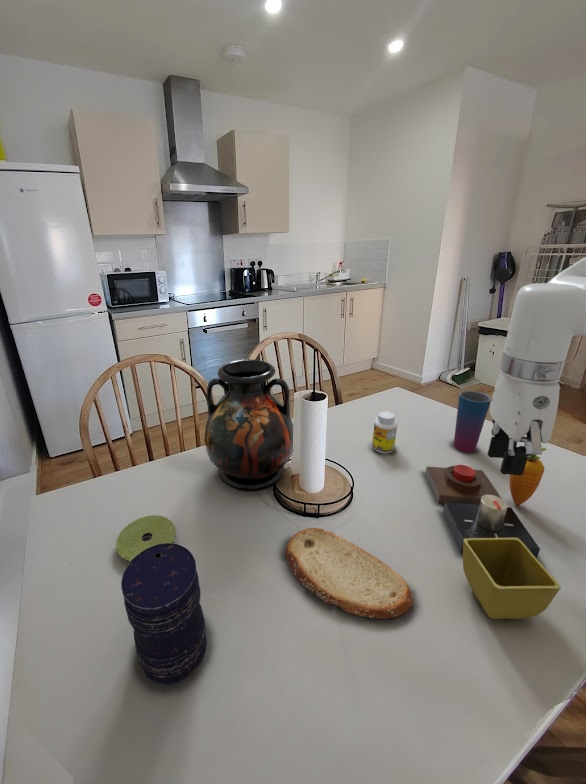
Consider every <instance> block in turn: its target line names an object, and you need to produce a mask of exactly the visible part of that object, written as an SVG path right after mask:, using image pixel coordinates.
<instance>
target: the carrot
mask: <svg viewBox="0 0 586 784" xmlns="http://www.w3.org/2000/svg"><path fill="white" fill-rule="evenodd" d="M544 451H547V448H546V447H542V452H544ZM537 455H538V454H533V455H531V457H528V458H527V462H526V465H525V469H524V472H523V474H522V475H509V490H510V496H511V498H512V502H513V504H514V505H515V506H521V505H522V504H525V502H527V501H528V500H529V499H530V498H532V496H533V495H534V493H535V492H536V490H537V489H538V487H539V485H540V483H541V480H542V478H543V475H544V473H545V466H544V464H543V462H542V460H540V459H541V456H537Z"/></svg>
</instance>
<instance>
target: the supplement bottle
mask: <svg viewBox="0 0 586 784" xmlns="http://www.w3.org/2000/svg"><path fill="white" fill-rule="evenodd" d="M395 418H396V415H395V414H394V413H392V412H390V411H380V412H379V413H378V415H377V417H376V418H375V420H374V423H373V434H372V445H371V446H372V449H373V450H374V451H376V452H378V453H381V454H389V453H392V452H393V451H395V446H396V445H395V444H396V439H397V431H398V430H397V429H398V423H397V421H396V420H395Z"/></svg>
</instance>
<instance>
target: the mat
mask: <svg viewBox="0 0 586 784" xmlns="http://www.w3.org/2000/svg"><path fill="white" fill-rule="evenodd" d="M176 534H177V533H176V526H175V524H174V522H173V521H172V520H171V519H169V518H168V517H166V516H163V515H153V514H152V515H146V516H143V517H140V518H136V519H135V520H133V521H132V522H130V523H129V524H127V525H126V526H125V527H124V528H123V529H122V530H121V531H120V532H119V534H118V536H117V539H116V542H115V543H116V545H115V548H116V551H117V553H118V555H119V556H120V557H121V558H122V559H123V560H126V561H129V562H131V560H132V559H133V558H134V557H135V556H136V555H138V554H139V553H140V552H142V551H143V550H145V549H147V548H149V547H151V546H154V545H158V544H163V543H173V542H174V540H175V538H176Z"/></svg>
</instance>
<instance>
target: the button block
mask: <svg viewBox="0 0 586 784" xmlns="http://www.w3.org/2000/svg"><path fill="white" fill-rule="evenodd" d="M455 466H456V465H451V466H447V467H443V466H442V467H441V466H439V467H438V466H426V468H425V473H424V474H425V477H426V479H427V481H428V483H429V485H430V488H431V490H432V492H433V495H434V497H435V499H436V501H437V503H438V504H443V505H445V502H451V503H463V504H475V505H480V501H481V497H482V496H483V495H494V496H497V497H499V498H501V499H503V498H502V497H501V495H500V493H499V492H498V491H497V489H496V488H495V486H494V485H493V482H491V480H490V478H488V476H487V475H486V473H485V472H484V470H483V469H473V470H474V471H475V477H474V481H472V482H463V481H460V480H458V479H456V478H455V477H454V476H453V470H454V467H455Z"/></svg>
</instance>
